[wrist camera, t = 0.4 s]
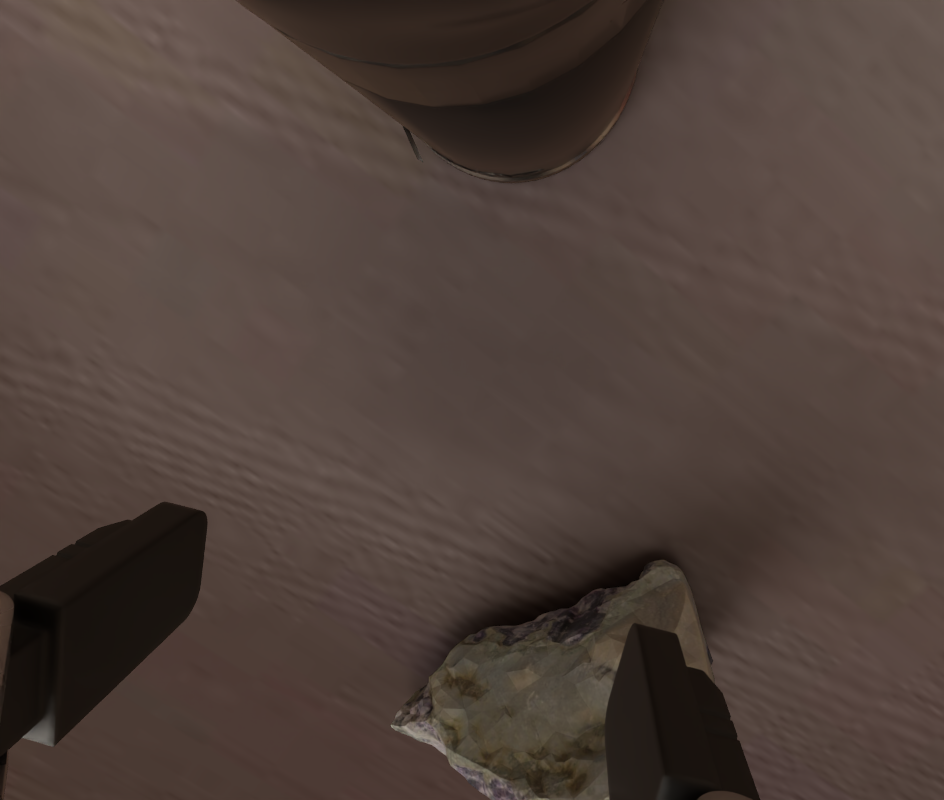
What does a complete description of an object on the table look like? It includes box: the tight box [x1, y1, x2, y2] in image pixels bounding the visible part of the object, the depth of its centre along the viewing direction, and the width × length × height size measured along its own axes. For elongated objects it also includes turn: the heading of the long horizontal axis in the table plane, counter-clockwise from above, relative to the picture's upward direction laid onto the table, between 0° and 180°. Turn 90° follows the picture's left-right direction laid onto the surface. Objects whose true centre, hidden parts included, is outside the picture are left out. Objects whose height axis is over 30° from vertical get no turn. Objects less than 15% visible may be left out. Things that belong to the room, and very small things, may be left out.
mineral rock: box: [390, 560, 714, 800], centre depth 26 cm, size 13×11×10 cm
